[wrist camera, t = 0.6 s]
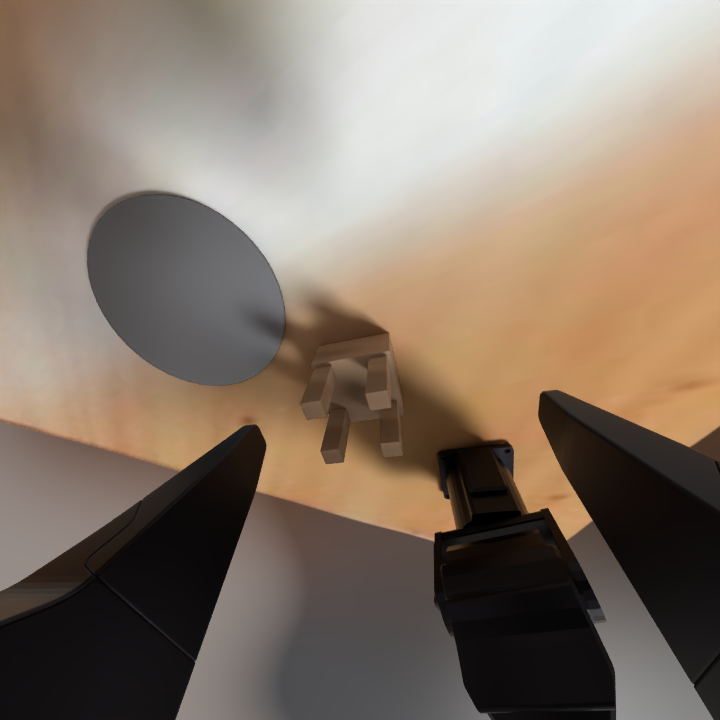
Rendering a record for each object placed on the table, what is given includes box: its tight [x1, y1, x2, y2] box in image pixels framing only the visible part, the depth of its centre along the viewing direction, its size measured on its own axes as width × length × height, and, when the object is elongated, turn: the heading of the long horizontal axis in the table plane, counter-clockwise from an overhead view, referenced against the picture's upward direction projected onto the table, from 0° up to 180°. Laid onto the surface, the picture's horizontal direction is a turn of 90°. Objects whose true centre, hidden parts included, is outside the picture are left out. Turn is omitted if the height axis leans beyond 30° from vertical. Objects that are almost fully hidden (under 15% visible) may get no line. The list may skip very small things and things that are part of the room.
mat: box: [87, 195, 285, 386], centre depth 21 cm, size 14×14×1 cm
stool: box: [300, 333, 404, 464], centre depth 20 cm, size 6×6×7 cm
